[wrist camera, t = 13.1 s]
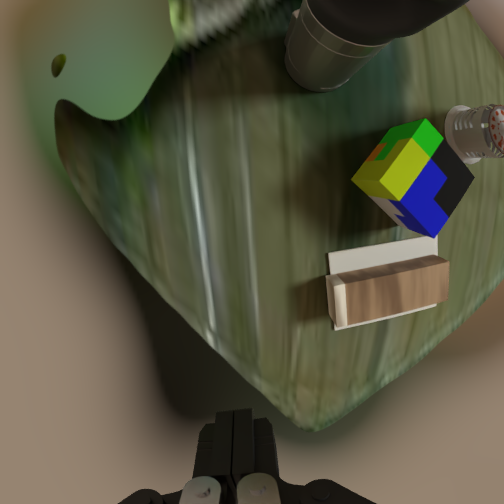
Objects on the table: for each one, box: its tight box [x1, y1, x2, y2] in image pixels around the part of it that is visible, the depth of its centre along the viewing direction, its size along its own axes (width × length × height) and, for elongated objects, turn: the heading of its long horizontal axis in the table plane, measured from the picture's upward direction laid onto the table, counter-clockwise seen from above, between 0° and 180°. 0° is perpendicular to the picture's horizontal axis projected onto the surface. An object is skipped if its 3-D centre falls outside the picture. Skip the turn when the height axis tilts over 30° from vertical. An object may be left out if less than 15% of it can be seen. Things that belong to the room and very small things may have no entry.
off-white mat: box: [328, 235, 438, 330], centre depth 44 cm, size 18×12×1 cm, turn 99°
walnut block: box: [326, 254, 449, 328], centre depth 42 cm, size 4×6×18 cm
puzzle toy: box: [351, 118, 475, 239], centre depth 36 cm, size 10×10×10 cm
